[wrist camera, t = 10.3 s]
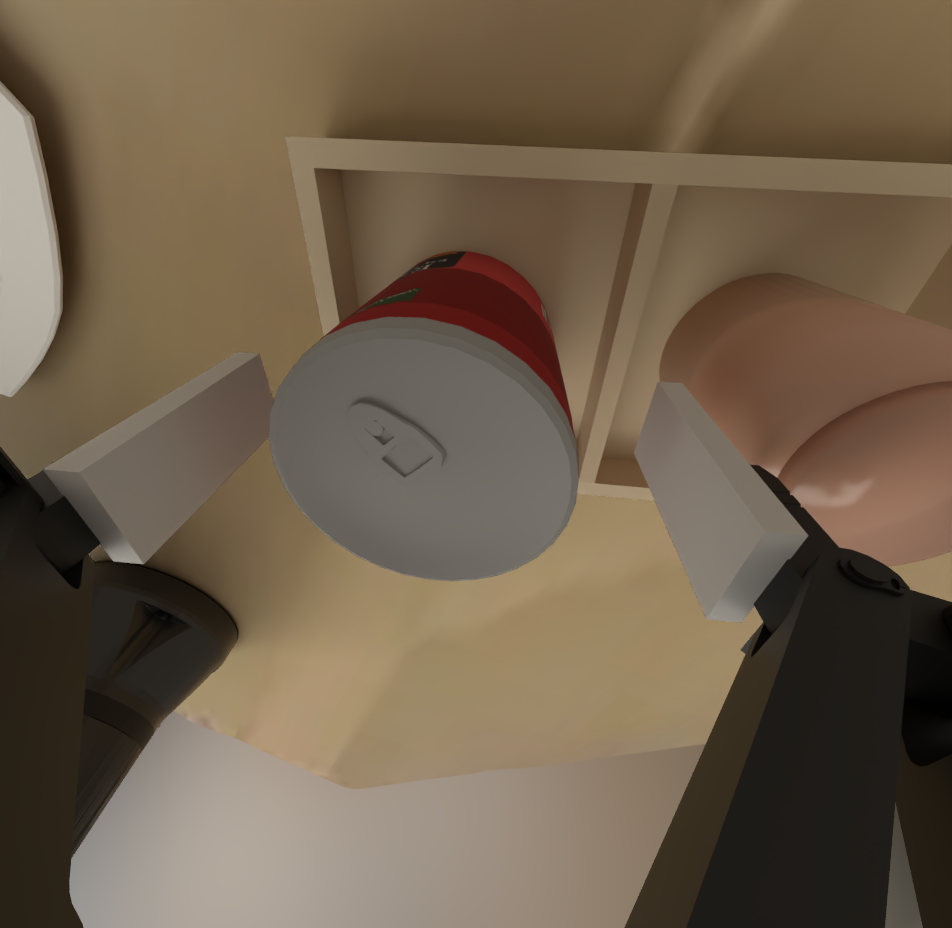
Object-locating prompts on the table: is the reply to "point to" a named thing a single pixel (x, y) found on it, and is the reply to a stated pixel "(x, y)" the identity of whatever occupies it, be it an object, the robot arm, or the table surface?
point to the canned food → (433, 425)
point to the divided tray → (620, 247)
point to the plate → (25, 249)
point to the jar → (830, 406)
